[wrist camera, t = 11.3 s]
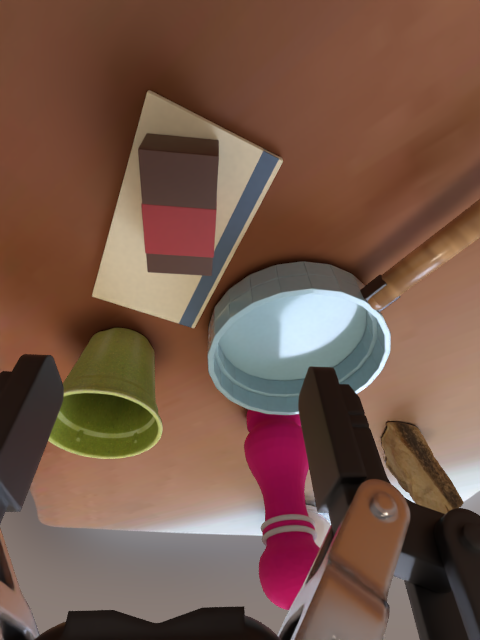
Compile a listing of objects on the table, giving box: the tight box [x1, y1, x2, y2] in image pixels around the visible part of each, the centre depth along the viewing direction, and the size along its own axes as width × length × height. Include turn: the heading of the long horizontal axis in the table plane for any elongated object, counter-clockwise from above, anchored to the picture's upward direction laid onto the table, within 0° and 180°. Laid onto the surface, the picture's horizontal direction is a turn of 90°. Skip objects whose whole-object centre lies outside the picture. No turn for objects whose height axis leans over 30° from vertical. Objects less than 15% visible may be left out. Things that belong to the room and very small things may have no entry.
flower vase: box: [306, 505, 386, 640], centre depth 53 cm, size 13×18×25 cm
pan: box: [208, 261, 391, 415], centre depth 32 cm, size 15×16×4 cm
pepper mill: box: [244, 410, 320, 610], centre depth 35 cm, size 7×7×20 cm
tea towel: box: [92, 90, 283, 328], centre depth 27 cm, size 16×9×1 cm, turn 154°
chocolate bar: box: [138, 133, 219, 276], centre depth 24 cm, size 8×4×3 cm, turn 174°
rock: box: [381, 422, 463, 514], centre depth 47 cm, size 11×9×10 cm
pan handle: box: [360, 199, 480, 312], centre depth 25 cm, size 12×2×2 cm, turn 139°
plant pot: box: [48, 328, 162, 459], centre depth 31 cm, size 9×9×9 cm
